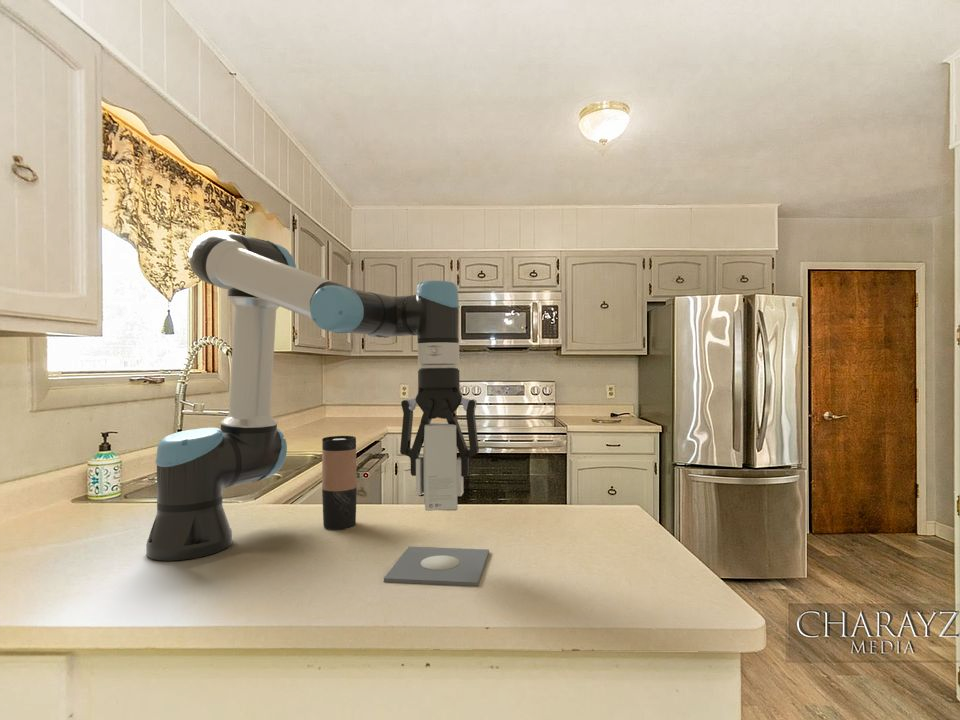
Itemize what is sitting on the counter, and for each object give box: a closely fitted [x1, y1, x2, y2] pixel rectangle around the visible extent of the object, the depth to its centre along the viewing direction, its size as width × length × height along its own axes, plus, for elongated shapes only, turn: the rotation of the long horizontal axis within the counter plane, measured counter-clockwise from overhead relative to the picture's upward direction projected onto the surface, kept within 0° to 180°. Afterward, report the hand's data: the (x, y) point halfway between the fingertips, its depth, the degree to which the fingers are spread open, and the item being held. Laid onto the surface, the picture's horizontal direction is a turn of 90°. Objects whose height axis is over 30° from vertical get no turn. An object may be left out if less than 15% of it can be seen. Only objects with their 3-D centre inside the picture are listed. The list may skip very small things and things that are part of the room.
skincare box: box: [422, 422, 459, 512], centre depth 97 cm, size 8×6×15 cm
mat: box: [383, 546, 490, 587], centre depth 97 cm, size 16×16×1 cm
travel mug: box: [321, 435, 358, 531], centre depth 123 cm, size 8×8×20 cm
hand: (440, 493), depth 97 cm, fingers closed on skincare box, 7 cm apart
